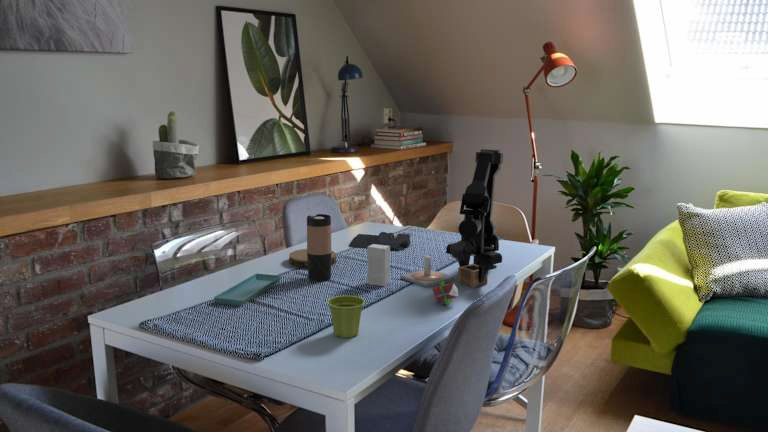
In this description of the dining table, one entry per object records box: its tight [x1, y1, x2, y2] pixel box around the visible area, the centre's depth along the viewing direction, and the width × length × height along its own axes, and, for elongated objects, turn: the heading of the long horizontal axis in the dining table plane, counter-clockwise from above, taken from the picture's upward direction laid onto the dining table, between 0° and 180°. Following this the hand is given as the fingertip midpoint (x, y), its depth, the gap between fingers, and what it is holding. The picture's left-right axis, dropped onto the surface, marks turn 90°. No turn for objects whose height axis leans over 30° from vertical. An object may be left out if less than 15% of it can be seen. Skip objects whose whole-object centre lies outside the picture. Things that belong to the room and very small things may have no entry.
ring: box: [457, 263, 489, 288], centre depth 223 cm, size 6×6×5 cm
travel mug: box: [306, 213, 333, 283], centre depth 226 cm, size 8×8×20 cm
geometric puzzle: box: [432, 279, 459, 306], centre depth 205 cm, size 7×7×8 cm
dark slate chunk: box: [349, 231, 411, 252], centre depth 270 cm, size 15×22×5 cm
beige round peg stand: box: [400, 255, 455, 288], centre depth 227 cm, size 12×12×7 cm
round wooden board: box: [288, 248, 337, 269], centre depth 246 cm, size 16×16×3 cm
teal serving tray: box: [213, 273, 282, 307], centre depth 214 cm, size 26×9×2 cm, turn 163°
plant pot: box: [326, 295, 366, 339], centre depth 181 cm, size 9×9×9 cm
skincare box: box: [366, 244, 391, 287], centre depth 222 cm, size 6×4×12 cm
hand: (472, 280), depth 224 cm, fingers closed on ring, 6 cm apart
